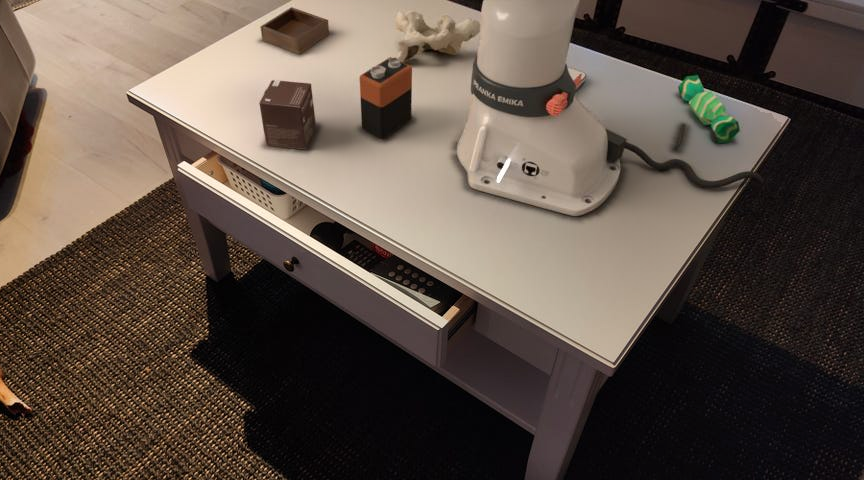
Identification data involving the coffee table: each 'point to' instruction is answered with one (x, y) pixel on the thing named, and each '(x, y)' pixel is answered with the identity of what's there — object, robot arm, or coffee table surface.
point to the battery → (386, 97)
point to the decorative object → (433, 34)
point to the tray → (295, 30)
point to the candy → (708, 109)
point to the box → (288, 114)
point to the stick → (680, 136)
